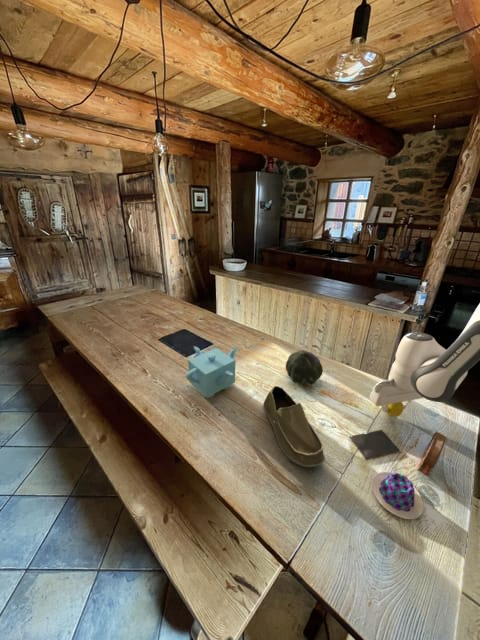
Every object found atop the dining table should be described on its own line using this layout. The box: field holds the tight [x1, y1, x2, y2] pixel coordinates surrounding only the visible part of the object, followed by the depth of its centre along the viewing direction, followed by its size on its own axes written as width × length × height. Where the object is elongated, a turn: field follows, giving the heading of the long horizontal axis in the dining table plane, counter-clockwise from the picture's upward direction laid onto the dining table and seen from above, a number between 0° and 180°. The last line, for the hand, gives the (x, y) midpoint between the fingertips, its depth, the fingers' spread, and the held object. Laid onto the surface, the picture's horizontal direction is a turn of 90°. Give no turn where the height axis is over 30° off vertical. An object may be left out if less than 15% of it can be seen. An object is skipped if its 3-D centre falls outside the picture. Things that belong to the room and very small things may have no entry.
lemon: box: [385, 402, 404, 418], centre depth 93 cm, size 6×6×8 cm
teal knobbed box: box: [185, 345, 239, 398], centre depth 105 cm, size 19×19×15 cm
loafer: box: [262, 385, 326, 468], centre depth 85 cm, size 11×30×10 cm, turn 23°
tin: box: [416, 430, 447, 477], centre depth 77 cm, size 15×3×8 cm, turn 134°
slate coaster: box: [349, 429, 401, 460], centre depth 84 cm, size 12×8×1 cm, turn 103°
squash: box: [285, 349, 324, 386], centre depth 110 cm, size 14×15×15 cm
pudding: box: [371, 471, 424, 520], centre depth 69 cm, size 12×12×5 cm
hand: (393, 409), depth 93 cm, fingers closed on lemon, 5 cm apart
